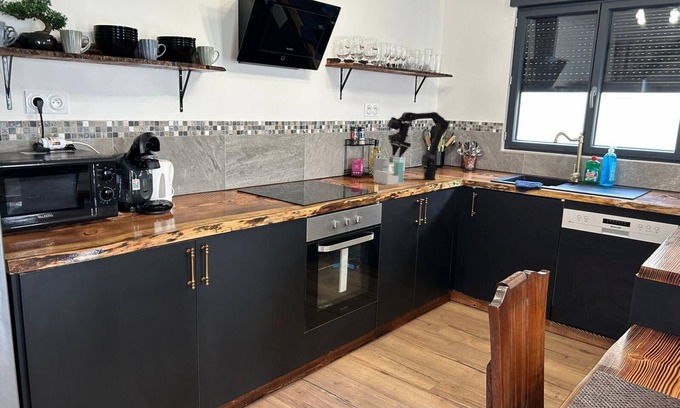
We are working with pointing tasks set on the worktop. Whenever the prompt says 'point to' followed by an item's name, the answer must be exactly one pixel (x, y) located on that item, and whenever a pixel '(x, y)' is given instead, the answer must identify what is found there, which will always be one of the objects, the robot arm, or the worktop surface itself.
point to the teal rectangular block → (398, 171)
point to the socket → (385, 177)
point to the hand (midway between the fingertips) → (396, 156)
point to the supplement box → (381, 164)
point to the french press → (375, 155)
